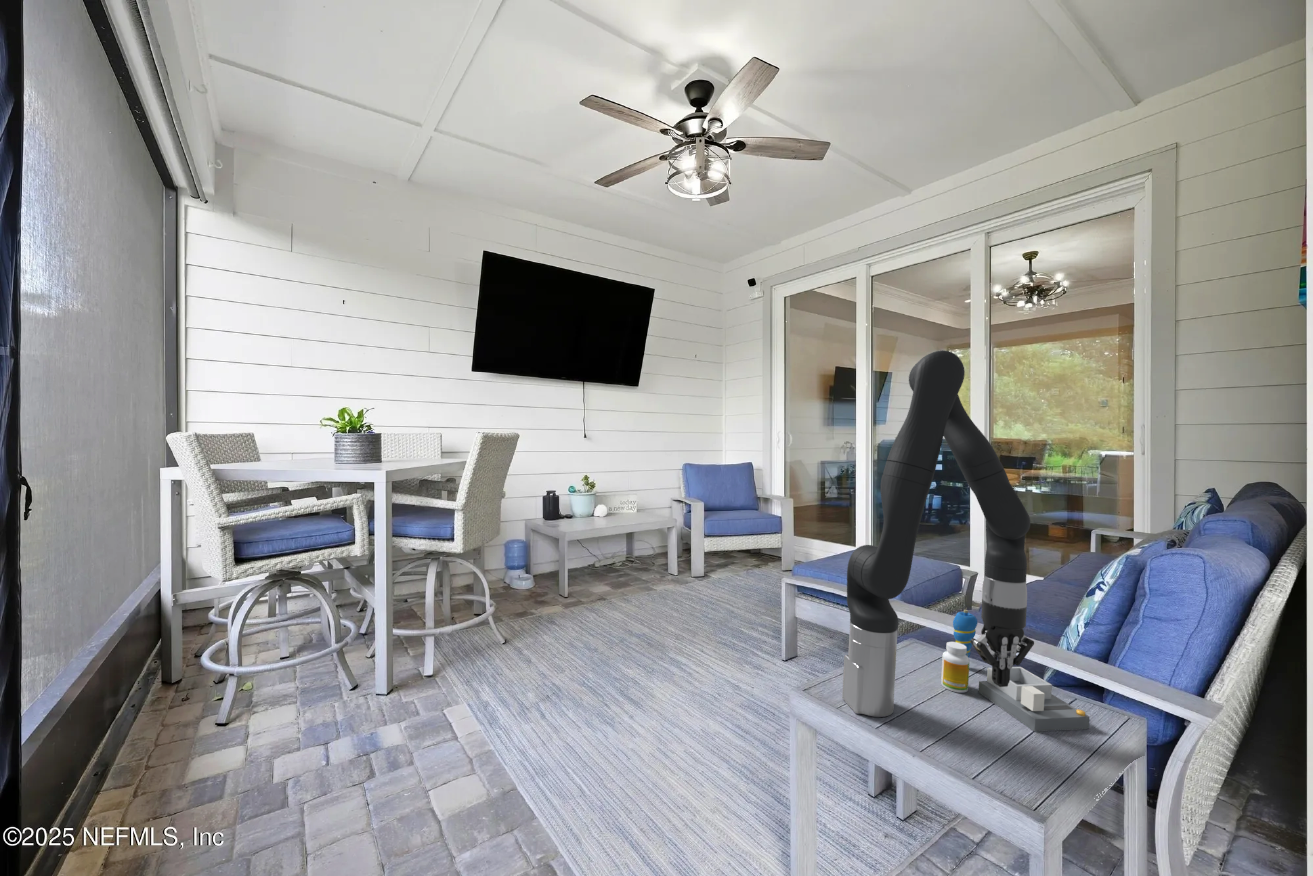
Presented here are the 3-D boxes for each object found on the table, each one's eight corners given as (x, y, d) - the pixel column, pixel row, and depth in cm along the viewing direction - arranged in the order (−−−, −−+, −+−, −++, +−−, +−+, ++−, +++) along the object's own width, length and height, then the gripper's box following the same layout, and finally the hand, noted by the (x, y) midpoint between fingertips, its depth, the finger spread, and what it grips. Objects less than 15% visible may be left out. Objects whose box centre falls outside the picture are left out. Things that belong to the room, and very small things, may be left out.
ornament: (968, 663, 133) (972, 604, 133) (979, 673, 128) (982, 611, 128) (947, 661, 134) (950, 603, 133) (956, 671, 129) (959, 610, 128)
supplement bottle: (971, 694, 118) (974, 651, 117) (945, 691, 119) (947, 648, 118) (963, 683, 123) (965, 641, 123) (937, 680, 124) (939, 639, 124)
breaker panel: (1034, 731, 104) (1036, 704, 104) (978, 692, 119) (979, 668, 119) (1088, 728, 106) (1090, 701, 106) (1026, 690, 121) (1028, 666, 120)
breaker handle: (1032, 711, 106) (1033, 694, 106) (1020, 703, 109) (1021, 686, 109) (1043, 710, 107) (1044, 693, 106) (1031, 702, 110) (1032, 686, 109)
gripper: (989, 608, 102) (985, 697, 103) (1049, 605, 104) (1045, 692, 105) (960, 595, 109) (957, 678, 110) (1017, 592, 111) (1014, 673, 112)
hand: (1000, 684), depth 107 cm, fingers closed
